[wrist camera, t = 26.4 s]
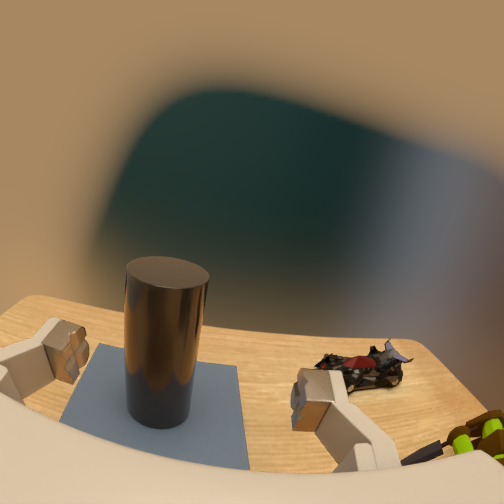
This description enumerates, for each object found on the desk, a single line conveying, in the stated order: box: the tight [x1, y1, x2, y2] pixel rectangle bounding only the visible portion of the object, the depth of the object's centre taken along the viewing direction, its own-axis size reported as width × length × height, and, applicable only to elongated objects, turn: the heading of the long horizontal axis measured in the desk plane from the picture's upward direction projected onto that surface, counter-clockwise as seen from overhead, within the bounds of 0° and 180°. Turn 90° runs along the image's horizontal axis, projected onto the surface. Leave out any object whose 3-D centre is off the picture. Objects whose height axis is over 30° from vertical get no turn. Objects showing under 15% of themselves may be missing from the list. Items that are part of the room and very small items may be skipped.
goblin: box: [400, 410, 504, 466], centre depth 13 cm, size 10×14×15 cm
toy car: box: [314, 338, 414, 394], centre depth 31 cm, size 6×12×4 cm, turn 104°
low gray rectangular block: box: [59, 343, 250, 470], centre depth 19 cm, size 12×12×4 cm
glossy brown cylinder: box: [124, 256, 209, 429], centre depth 17 cm, size 4×4×10 cm
